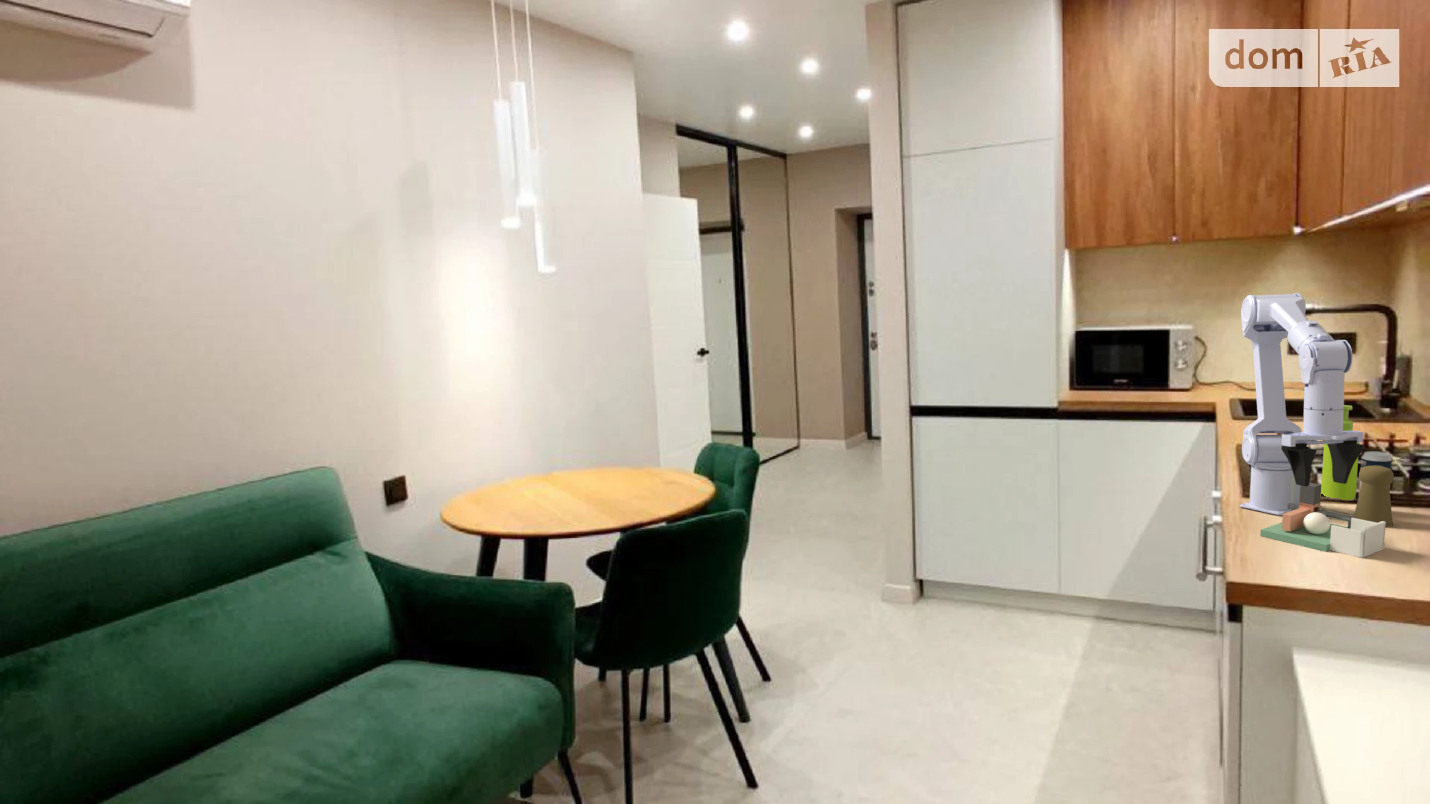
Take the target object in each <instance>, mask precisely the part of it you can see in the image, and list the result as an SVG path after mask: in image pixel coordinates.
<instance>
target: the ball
mask: <svg viewBox="0 0 1430 804" xmlns="http://www.w3.org/2000/svg"><path fill="white" fill-rule="evenodd" d="M1303 524H1304V527H1305V529H1306V530H1307V531H1308V532H1310V533H1312V534H1323V533H1325V532H1327V531H1328V530H1329V528H1330V524H1331V521H1330V519H1329V517H1327V516H1325V515H1324V514H1322V513H1318V512H1313V513H1310V514H1308V515H1307V516H1306V517H1305V518H1304V521H1303Z"/></svg>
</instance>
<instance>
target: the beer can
mask: <svg viewBox="0 0 1430 804" xmlns="http://www.w3.org/2000/svg"><path fill="white" fill-rule="evenodd" d="M1360 459H1361V460H1360V461H1361V462H1360V470H1361V469H1362V468H1363V467H1365V466H1382V467H1386V468H1389V469H1390V470H1392V461H1393V459H1392V456H1391V454H1390V453H1388V452H1382V451H1375V450H1374V451H1372V450H1370V451H1369V450H1368V451H1364V453H1363V454H1362V456H1361V457H1360ZM1361 485H1362V482H1361V480H1360V479H1359V485H1358V486H1359V488H1358V495H1359V494H1360V489H1361ZM1390 488H1391V484H1390V485H1389V489H1390Z"/></svg>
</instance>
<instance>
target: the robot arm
mask: <svg viewBox="0 0 1430 804" xmlns="http://www.w3.org/2000/svg"><path fill="white" fill-rule="evenodd" d="M1306 304H1307V303H1306V299H1305V298H1304V296H1302V294H1300V293H1299V292H1295V293H1286V294H1260V295H1259V294H1258V295H1253V294H1248V295H1247V296H1246V297H1245V298H1244V299H1243V301H1242V305H1241V310H1240V320H1241V330H1242V333H1243V335H1242V336H1243V337H1244V338H1245V339H1247V340H1250V341H1251V347H1252V354H1253V368H1254V369H1253V371H1254V379H1255V380H1254V381H1255V395H1256V396H1255V397H1256V410H1257V419H1256V420H1255V421H1252V423H1249V424H1248V425H1247V426H1246V427H1245V428H1244V430H1243V432H1242V436H1243V437H1242V439H1243V440H1242V444H1241V454H1242V458H1243V460H1244V461H1245V462H1246V463H1247V464H1248V465H1250V467H1251V468H1250V488H1249V501H1248V502H1245V503H1244V502H1243V503H1240V504H1239V507H1241V508H1244V509H1249V510H1254V511H1259V512H1263V513H1267V514H1272V515H1277V516H1283V514H1284V513H1287V512H1290V511H1291V510H1290V509H1288V504H1289V503H1292V504H1297V505H1299V500H1300V485H1301V486H1309V483H1311V472H1312V471H1311V470H1312V466H1313V465H1312V464H1313V462H1314V459H1315V456H1316V454H1317V451H1318V450H1317V449H1314V448H1310V447H1309V446H1311V445H1313V446H1315V445H1324V444H1327V445H1328V447H1329V450H1330V454H1331V459H1332V477H1333V482H1337V483H1342V484H1346V483H1347V480H1348V477H1349V474H1350V472H1351V469H1352V467H1353V465H1354V463H1355V461H1356V459H1357V458H1358V459H1359V457H1360V455H1361V454H1362V452H1363V451H1365V444H1363V442H1364V431H1360V430H1353V431H1343V409H1344V405H1345V377H1346V376H1345V374H1347V373H1348V372H1349V371H1350V370H1351V367H1352V364H1353V350H1352V347H1351V344H1350V343H1349V341H1348V340H1346V339H1334V338H1333V336H1331V335H1330V333H1329V332H1328V331H1327V330H1326V329H1325V328H1324V327H1323V325H1322V324H1320V323H1319V322H1318V321H1317V320H1309V319H1308V317H1307V316H1306V309H1307V307H1306V306H1307V305H1306ZM1285 339H1287V342H1288V344H1289V345H1290V346H1291V347H1292V348H1293V351H1295V352H1296V353H1297V354H1298V365H1299V369H1300V372H1301V373H1300V375H1301V378H1300V379H1301V383H1304V391H1303V392H1304V393H1303V423H1302V424H1303V427H1302V428H1303V430H1302V428H1301V426H1299V425H1298V424H1296V423H1294V422H1293V421H1291V420H1290V419H1288V418H1287V410H1286V399H1285V398H1286V397H1285V386H1284V385H1285V384H1284V372H1283V371H1284V370H1283V360H1282V349H1281V348H1282V347H1281V343H1282V341H1283V340H1285ZM1324 440H1326V441H1324ZM1357 443H1359V444H1357ZM1361 443H1362V444H1361Z"/></svg>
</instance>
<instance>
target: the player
mask: <svg viewBox="0 0 1430 804" xmlns="http://www.w3.org/2000/svg"><path fill="white" fill-rule="evenodd" d="M1321 499H1322V498H1321V484H1320V483H1315V482H1310V483H1309V486H1301V485H1300V500H1299V509H1296V510H1293V511H1290V512H1287V513H1284V514H1283V515H1282V518H1281V519H1282V521H1281V522H1282V530H1286V531H1293V530H1295V529H1298V528H1301V527H1304V524H1303V521H1304V518H1305V517H1306V516H1307V515H1308V514H1310V513H1313V512H1314V508H1317V509H1321Z"/></svg>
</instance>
